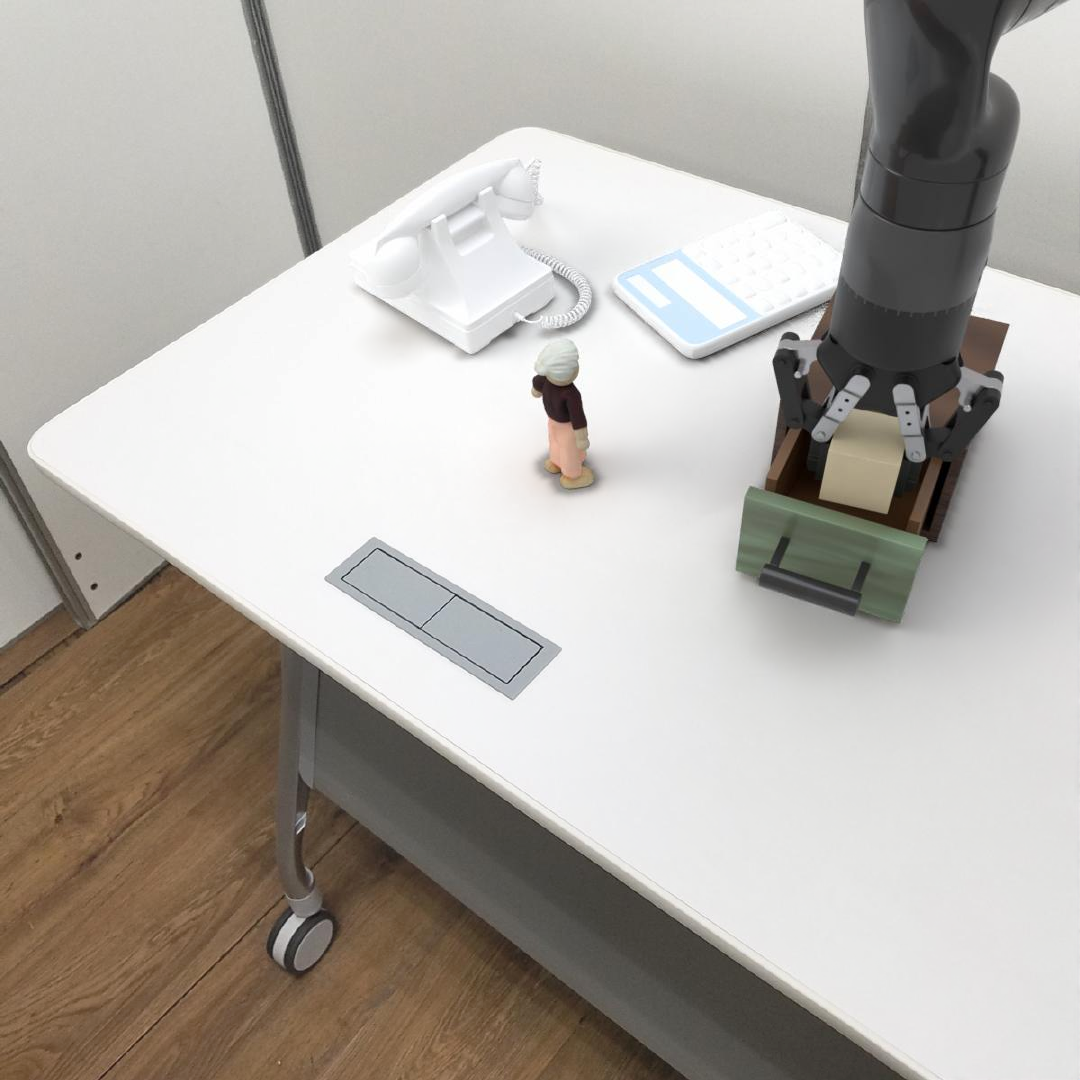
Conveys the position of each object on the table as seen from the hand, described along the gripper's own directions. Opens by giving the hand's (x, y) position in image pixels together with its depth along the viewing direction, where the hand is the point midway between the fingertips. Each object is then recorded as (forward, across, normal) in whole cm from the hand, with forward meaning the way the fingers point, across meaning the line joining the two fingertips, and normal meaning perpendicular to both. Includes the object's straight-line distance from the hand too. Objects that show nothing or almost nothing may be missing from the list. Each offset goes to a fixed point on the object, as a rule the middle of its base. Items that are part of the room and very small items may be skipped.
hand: (860, 479), depth 74 cm
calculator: (+9, -16, +30) cm, 35 cm away
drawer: (+8, -1, 0) cm, 8 cm away
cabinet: (+9, 0, +12) cm, 15 cm away
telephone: (+9, -38, +24) cm, 46 cm away
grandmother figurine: (+9, -23, +3) cm, 25 cm away
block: (0, 0, 0) cm, 0 cm away
